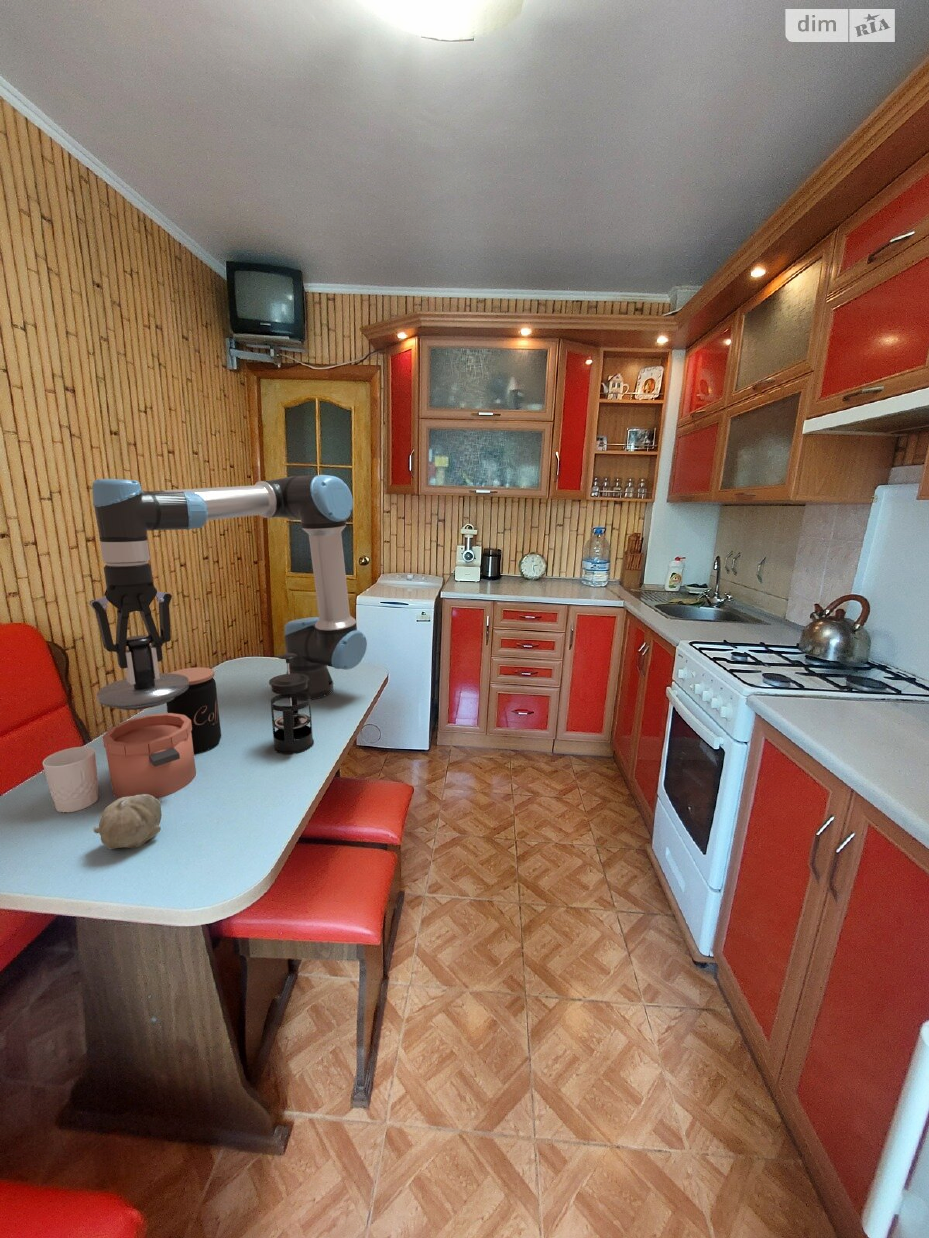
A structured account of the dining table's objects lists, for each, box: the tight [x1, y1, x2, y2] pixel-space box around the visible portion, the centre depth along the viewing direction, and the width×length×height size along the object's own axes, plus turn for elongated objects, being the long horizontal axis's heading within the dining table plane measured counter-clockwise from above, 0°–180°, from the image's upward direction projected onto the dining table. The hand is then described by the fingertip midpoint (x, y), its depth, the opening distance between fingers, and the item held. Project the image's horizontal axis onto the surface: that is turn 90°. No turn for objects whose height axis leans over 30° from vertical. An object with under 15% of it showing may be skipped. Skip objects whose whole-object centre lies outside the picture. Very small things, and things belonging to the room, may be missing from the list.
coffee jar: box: [165, 666, 222, 754], centre depth 119 cm, size 11×11×18 cm
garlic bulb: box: [93, 794, 163, 850], centre depth 85 cm, size 9×8×10 cm
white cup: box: [42, 746, 100, 814], centre depth 96 cm, size 8×8×10 cm
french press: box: [268, 652, 315, 755], centre depth 119 cm, size 12×9×23 cm
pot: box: [101, 712, 197, 800], centre depth 104 cm, size 21×15×12 cm
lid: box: [96, 634, 189, 711], centre depth 100 cm, size 16×16×13 cm
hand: (143, 679), depth 100 cm, fingers closed on lid, 4 cm apart
